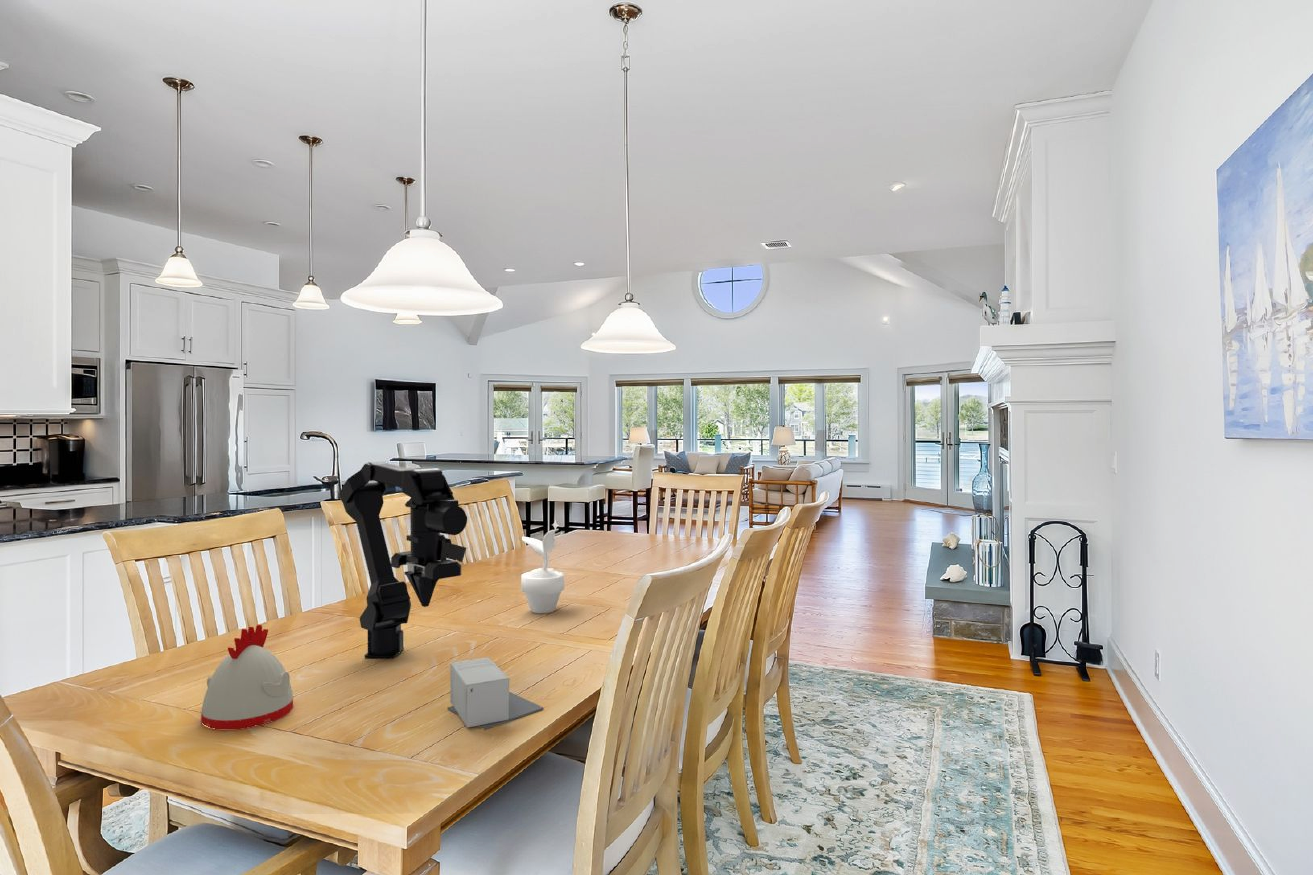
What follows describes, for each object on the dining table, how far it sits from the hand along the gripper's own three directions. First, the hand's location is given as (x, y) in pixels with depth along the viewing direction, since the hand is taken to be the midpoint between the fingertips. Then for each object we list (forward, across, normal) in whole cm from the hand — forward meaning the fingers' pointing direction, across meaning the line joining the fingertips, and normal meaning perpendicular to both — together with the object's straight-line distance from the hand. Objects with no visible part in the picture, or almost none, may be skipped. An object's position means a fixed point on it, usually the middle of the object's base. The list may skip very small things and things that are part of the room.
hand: (425, 606), depth 148 cm
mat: (+13, -28, +1) cm, 31 cm away
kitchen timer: (+13, +1, +32) cm, 35 cm away
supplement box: (+9, -21, +2) cm, 23 cm away
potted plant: (+13, +21, -44) cm, 51 cm away
